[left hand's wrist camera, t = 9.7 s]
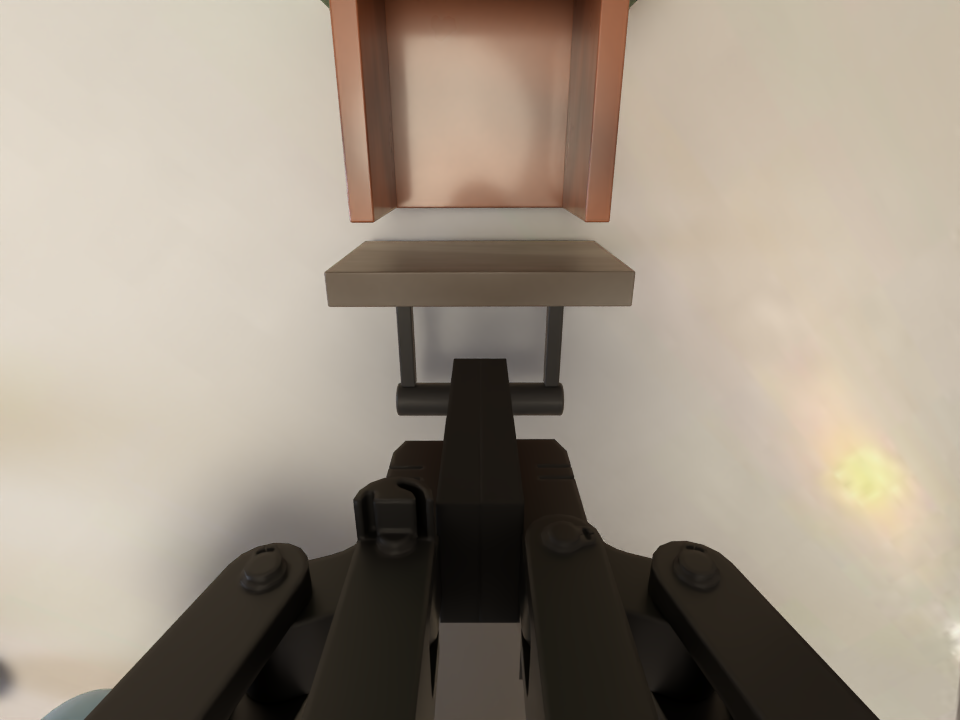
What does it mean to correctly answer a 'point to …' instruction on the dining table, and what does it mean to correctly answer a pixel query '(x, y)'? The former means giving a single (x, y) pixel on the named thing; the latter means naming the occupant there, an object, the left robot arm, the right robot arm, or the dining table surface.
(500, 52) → the drawer
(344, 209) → the dining table surface
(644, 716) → the left robot arm
